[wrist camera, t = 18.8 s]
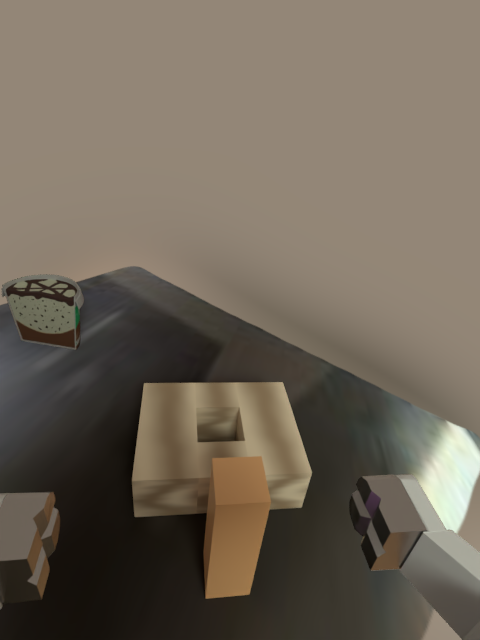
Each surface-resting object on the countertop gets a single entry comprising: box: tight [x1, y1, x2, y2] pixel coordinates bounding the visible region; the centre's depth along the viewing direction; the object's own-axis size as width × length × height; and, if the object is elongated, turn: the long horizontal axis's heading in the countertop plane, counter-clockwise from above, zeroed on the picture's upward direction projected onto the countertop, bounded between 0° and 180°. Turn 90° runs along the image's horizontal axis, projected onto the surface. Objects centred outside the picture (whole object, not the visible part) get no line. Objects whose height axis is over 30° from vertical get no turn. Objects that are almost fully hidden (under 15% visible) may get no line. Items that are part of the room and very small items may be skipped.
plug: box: [203, 456, 271, 599], centre depth 33 cm, size 4×4×14 cm
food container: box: [2, 274, 84, 350], centre depth 63 cm, size 12×6×10 cm, turn 82°
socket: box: [132, 382, 312, 517], centre depth 46 cm, size 18×14×6 cm
